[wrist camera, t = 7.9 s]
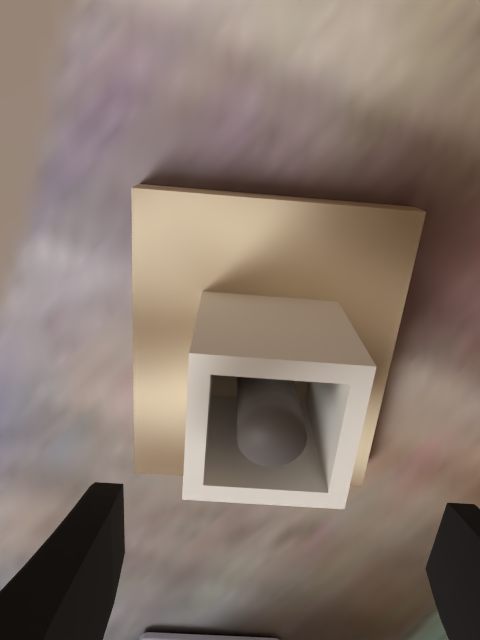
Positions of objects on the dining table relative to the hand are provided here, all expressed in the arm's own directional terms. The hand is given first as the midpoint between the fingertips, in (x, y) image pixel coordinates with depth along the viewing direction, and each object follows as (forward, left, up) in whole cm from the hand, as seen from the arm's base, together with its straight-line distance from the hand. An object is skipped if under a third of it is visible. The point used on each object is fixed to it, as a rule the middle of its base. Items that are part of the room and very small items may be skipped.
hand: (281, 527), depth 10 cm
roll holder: (0, 0, -9) cm, 9 cm away
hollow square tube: (0, 0, -8) cm, 8 cm away
